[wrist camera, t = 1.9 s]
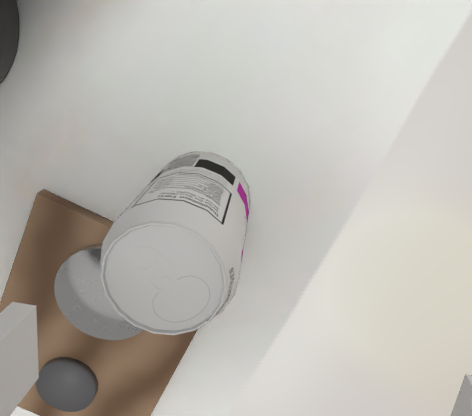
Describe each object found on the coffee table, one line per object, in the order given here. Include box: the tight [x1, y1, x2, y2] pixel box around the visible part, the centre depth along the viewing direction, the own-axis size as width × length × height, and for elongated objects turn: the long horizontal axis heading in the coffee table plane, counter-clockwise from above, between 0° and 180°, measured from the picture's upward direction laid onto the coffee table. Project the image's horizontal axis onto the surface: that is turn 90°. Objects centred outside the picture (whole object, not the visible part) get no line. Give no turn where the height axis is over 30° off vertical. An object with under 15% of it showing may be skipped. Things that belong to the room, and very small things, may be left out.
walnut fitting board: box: [0, 189, 197, 416], centre depth 43 cm, size 18×24×1 cm
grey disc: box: [36, 357, 98, 412], centre depth 44 cm, size 6×6×1 cm
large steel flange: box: [54, 244, 143, 340], centre depth 40 cm, size 10×10×1 cm
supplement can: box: [100, 152, 250, 335], centre depth 31 cm, size 8×8×15 cm
